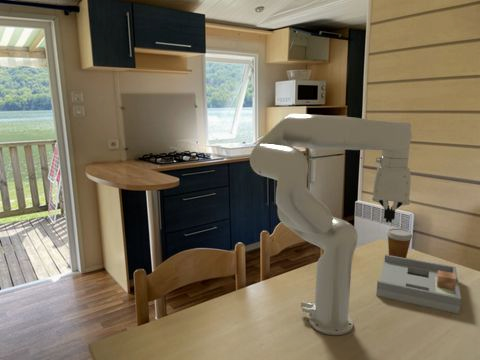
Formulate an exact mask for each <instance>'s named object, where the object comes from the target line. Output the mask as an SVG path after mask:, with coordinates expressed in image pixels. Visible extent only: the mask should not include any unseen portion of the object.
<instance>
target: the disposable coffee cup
mask: <svg viewBox="0 0 480 360" xmlns="http://www.w3.org/2000/svg"><path fill="white" fill-rule="evenodd" d="M386 235H387V245H388V246H387V247H388V255H390V256H396V257H402V258H407V257H408V252H409V248H410V244H411V240H412V238H413V235H412V232H411V231H410V230H407V229H405V228H404V229H403V228H398V227H396V228H394V227H393V228H389V229H388V230H387V232H386Z"/></svg>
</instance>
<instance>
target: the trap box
mask: <svg viewBox="0 0 480 360" xmlns="http://www.w3.org/2000/svg"><path fill="white" fill-rule="evenodd" d="M438 270H440V271H446V272H451V273H455V278H456V281H455V289H454V290H449V289H444V288H439V287H437V275H438ZM458 278H459V277H458V272H457V266H453V265H448V264H441V263H435V262H430V261H424V260H420V259H413V258H409V257H408V258H407V257H406V258H402V257H396V256H390V255H389V254H385V255H384V260H383V266H382V269H381V273H380V276H379V280H377V283H376V293H375V294H376V295H375V296H376V297H380V298H386V299H390V300H394V301H398V302H403V303H408V304H413V305H417V306H421V307H427V308H430V309H435V310H440V311H445V312H450V313H454V314H458V315H459V314H460V310H461V309H460V308H461V301H462V296H461V290H460V284H459V279H458Z"/></svg>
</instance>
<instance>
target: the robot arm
mask: <svg viewBox="0 0 480 360" xmlns="http://www.w3.org/2000/svg"><path fill="white" fill-rule="evenodd" d="M412 133H413V132H412V125H411V123H410V122H409V121H404V120H402V121H401V120H400V121H399V120H391V121H390V120H389V121H383V120H374V119H366V118H360V117H351V116H341V115H339V116H338V115H323V114H309V113H307V114H306V113H305V114H304V113H303V114H301V113H291V114H289V115H287V116H284V118H282V119H281V120H280V121H278V122H277V124H275V125H274V126H273V127H272V128H271V130H270V131H268V133H267V134H266V135H264V137H262V138H261V139H260V140H259V141H258V142H257V144H256V145H255V146H253V149H252V151H251V153H250V156H249V164H250V167H251V169H252V171H253V172H254V173H256V174H257V175H259V176H261V177H266V178H269V179H273V180H275V181H276V189H275V204H276V206H277V211H276V212H277V217H278V219H279V221H280V222H281V224H283V226H285V227H286V228H288V229H289V230H290V231H291V232H293V233H294V234H296V235H297V236H298V237H300V238H301V239H302V240H304V241H306V242H308V243H309V244H311V245H314V246H315V247H316V246H317V247H318V248H320V249H322V250H323V253H322V255H321V256H320V257H319V259H318V260H317V263H316V272H315V273H316V274H315V292H314V295H315V296H314V302H308V301H305V300H301V302H300V307H301V308H302V309H301V310H302V312H304V313H309V315H308V322H309V324H310V326H311V327H312V328H314V329H315V330H316V331H318V332H319V333H321V334H325V335H329V336H330V335H331V336H341V335H345V334H348V333H350V332H351V331H352V330H353V327H354V320H353V318H352V317H351V315H349V307H350V306H349V305H350V293H351V279H352V278H351V277H352V265H353V259H354V253H355V250H356V247H357V243H358V236H359V235H358V232H357V229H356V228H355V227H354V225H352V223H350V222H348V221H346V220H345V219H341V218H338V217H335V216H333V214H332V212H331V210H330V209H329V207H328V206H327V205H326V204H325V203H323V202H322V201H321V200H320V199H319V198H318V197H317V196H315V195H314V194H313V193H312V192H311V190H310V189H308V187H307V179H308V172H309V165H308V164H309V163H308V159H307V157H306V155H305V154H304V153H303V152H302V151H301V150H300V149H298V148H303V149H311V150H351V151H361V150H362V151H365V150H366V151H367V150H369V151H371V150H372V151H381V156H380V157H376V158H375V163H378V164H379V165H378V166H377V168H376V172H375V177H374V183H373V193H372V201H373V202H375V203H379V204H380V205H381V207H382V208H383V209H384V211H383V213H384V214H383V219H385V222H386V223H390V224H391V223H392V222H393V221H394V220H395V217H396V210H397V209H398V208H400V207H402V206H409V205H410V203H411V201H410V200H411V199H410V195H411V179H412V177H411V176H412V175H411V169H410V167H408V166H409V165H408V164H409V158H410V157H409V155H410V148H411V147H410V146H411V140H412V137H413V136H412V135H413V134H412ZM296 147H297V148H296ZM389 202H393V203H392V205H391V207H390V205H389Z"/></svg>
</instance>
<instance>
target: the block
mask: <svg viewBox="0 0 480 360" xmlns="http://www.w3.org/2000/svg"><path fill="white" fill-rule="evenodd" d="M455 281H456V278H455V273H451V272H446V271H440V270H438V275H437V287H439V288H444V289H449V290H454V289H455Z"/></svg>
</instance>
